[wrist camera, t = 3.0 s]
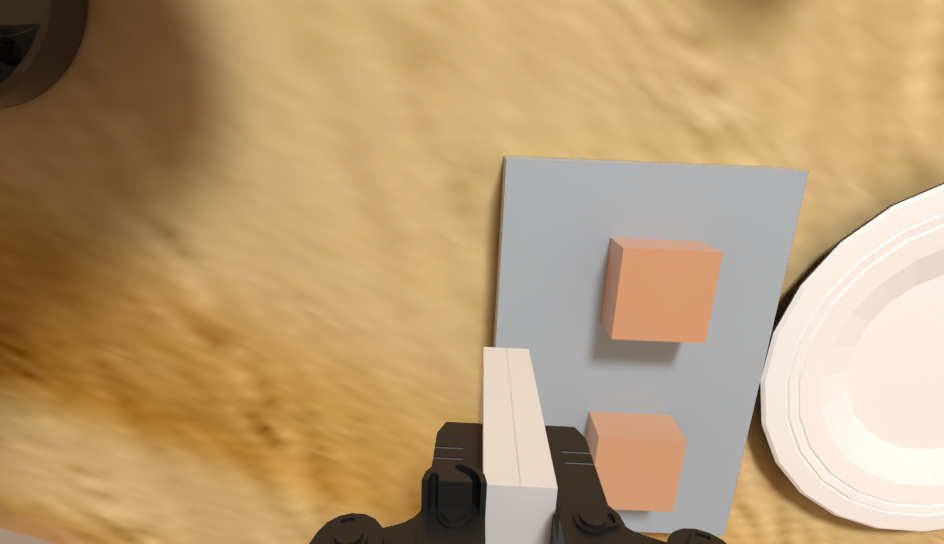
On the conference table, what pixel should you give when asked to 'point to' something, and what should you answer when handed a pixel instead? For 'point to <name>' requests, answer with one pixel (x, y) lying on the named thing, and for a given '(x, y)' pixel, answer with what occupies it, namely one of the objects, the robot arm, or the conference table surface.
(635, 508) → the tile
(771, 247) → the board
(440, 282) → the conference table surface
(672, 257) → the tile
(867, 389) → the plate
